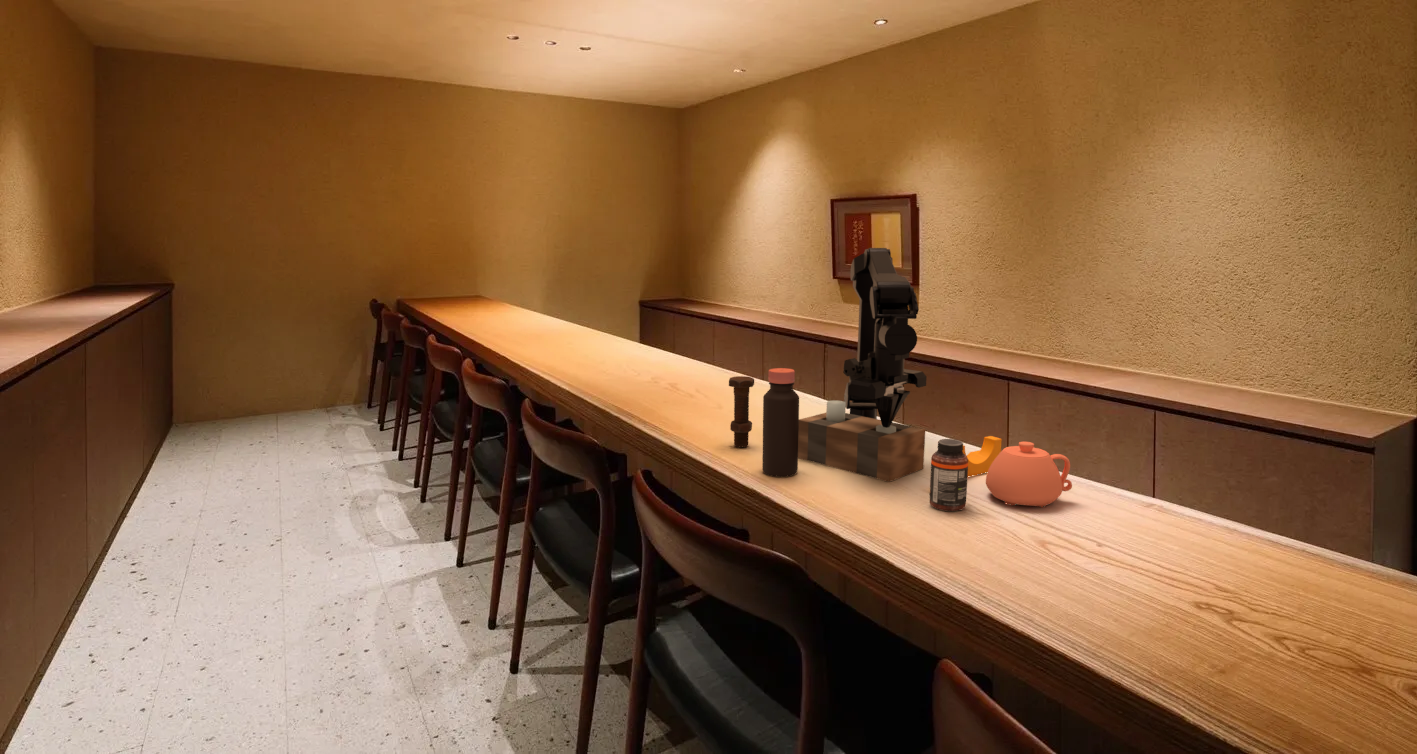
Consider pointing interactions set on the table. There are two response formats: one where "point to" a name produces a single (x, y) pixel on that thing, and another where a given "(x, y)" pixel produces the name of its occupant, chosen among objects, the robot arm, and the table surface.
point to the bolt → (741, 409)
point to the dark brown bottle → (780, 424)
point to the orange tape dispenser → (983, 456)
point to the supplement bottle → (949, 476)
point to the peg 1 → (835, 411)
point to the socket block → (862, 446)
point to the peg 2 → (886, 429)
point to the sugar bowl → (1027, 476)
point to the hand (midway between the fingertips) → (886, 427)
